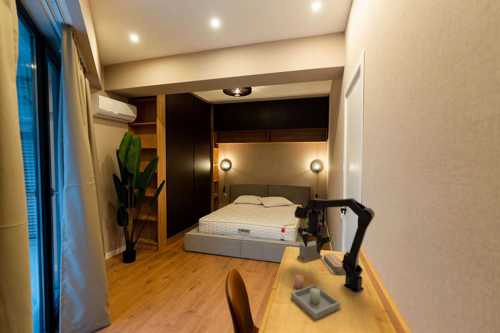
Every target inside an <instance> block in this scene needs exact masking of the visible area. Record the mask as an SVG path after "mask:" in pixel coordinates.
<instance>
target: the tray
mask: <svg viewBox="0 0 500 333" xmlns="http://www.w3.org/2000/svg"><path fill="white" fill-rule="evenodd" d="M311 288H317V289H319V290H320V304H319V305H313V304H311V303H310V289H311ZM290 293H291V295H290V296H291V297H290V298H291V300H292V301H293V302H295V304H297V305H298V306H299V307H300V308H301V309H302V311H304V312H305V313H306V314H308V315H309V316H310V317H311V318H312V319H313V320H314V321H317V320H319V319H321V318H323V317H325V316H328V315H330V314H332V313H335V312H337V311H339V310H341V302H340V301H339V300H337V299H335V297H333V296H331V295H330V294H329V293H327V292H326V291H325V290H323V289H322V288H320V286H317V285H316V284H312V285H309V286H307V287H303V289H296V290H295V291H292V292H290Z"/></svg>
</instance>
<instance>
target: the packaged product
mask: <svg viewBox="0 0 500 333" xmlns="http://www.w3.org/2000/svg"><path fill="white" fill-rule="evenodd" d="M320 260H321V262H322V263H323V264H324V266H326V268H327V270H329V272H330V273H331V274H332V275H335V276H336V275H337V276H339V275H340V276H341V275H343V276H346V272H345V270H344V269H343V267H342V264H343V263H341V262H342V261H341V260H340V259H339V257H337V255H335V254H334V253H327V254H324V255H323V257H322V258H320Z"/></svg>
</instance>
